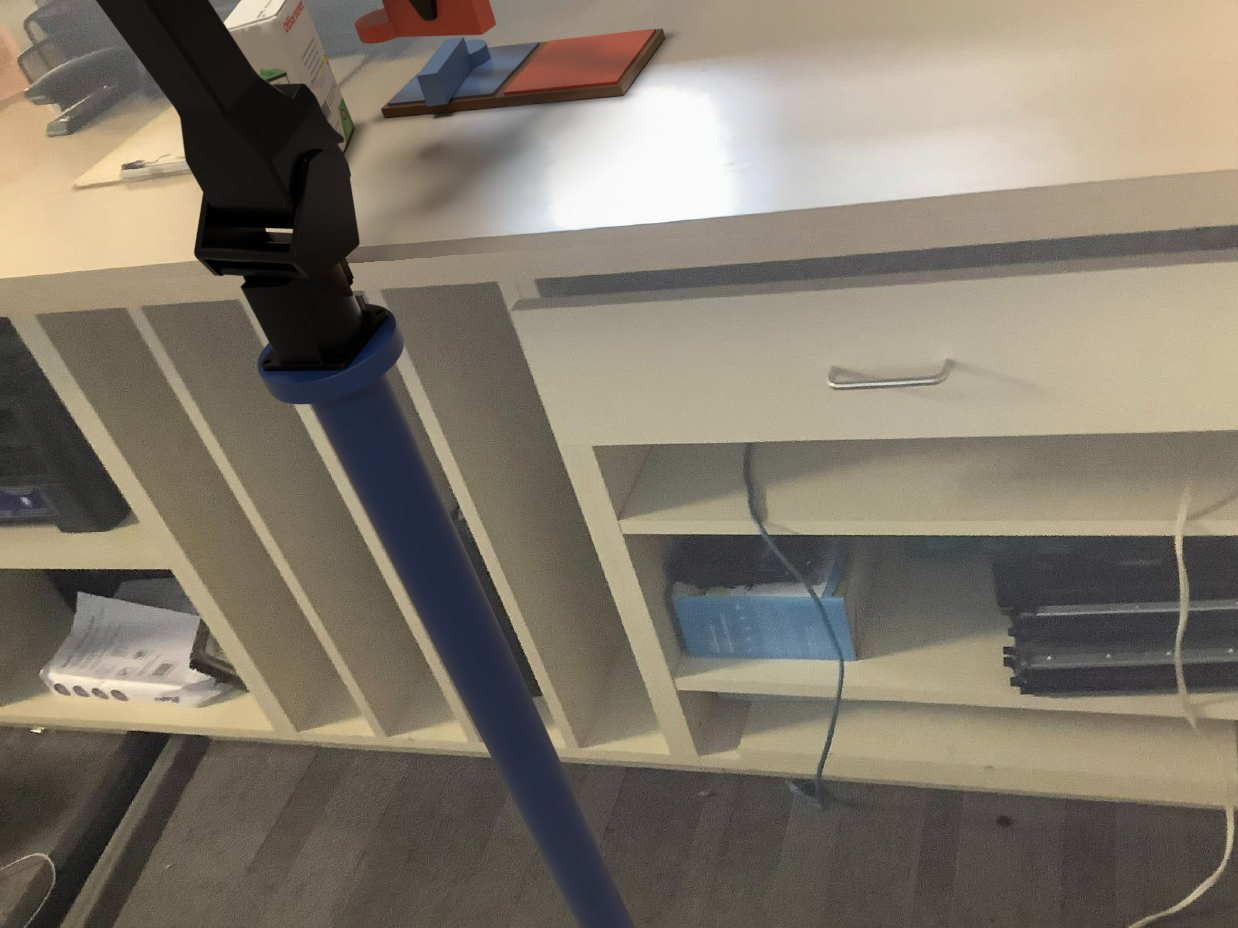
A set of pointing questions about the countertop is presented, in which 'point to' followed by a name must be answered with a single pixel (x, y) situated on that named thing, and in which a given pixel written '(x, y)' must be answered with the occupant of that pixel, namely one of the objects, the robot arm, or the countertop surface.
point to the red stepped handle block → (457, 14)
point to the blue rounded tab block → (450, 68)
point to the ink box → (289, 53)
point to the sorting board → (542, 73)
